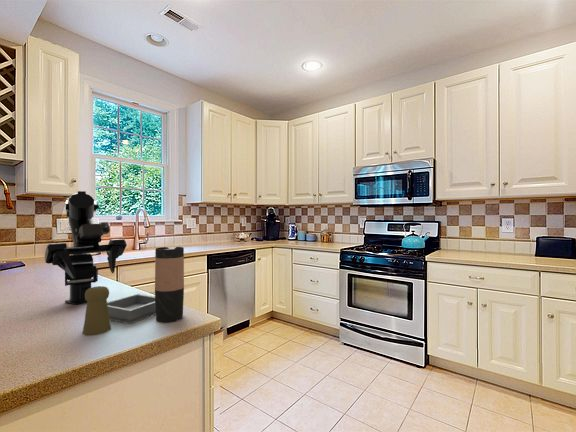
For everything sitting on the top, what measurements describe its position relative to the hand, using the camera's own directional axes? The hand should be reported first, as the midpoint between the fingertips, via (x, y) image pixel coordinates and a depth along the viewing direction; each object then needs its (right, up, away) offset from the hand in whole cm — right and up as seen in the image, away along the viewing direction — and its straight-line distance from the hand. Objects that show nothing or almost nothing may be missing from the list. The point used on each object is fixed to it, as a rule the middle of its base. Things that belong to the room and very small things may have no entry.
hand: (94, 275), depth 80 cm
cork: (+5, -13, -6) cm, 15 cm away
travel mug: (+19, -13, +3) cm, 24 cm away
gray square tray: (+7, -13, +7) cm, 16 cm away
